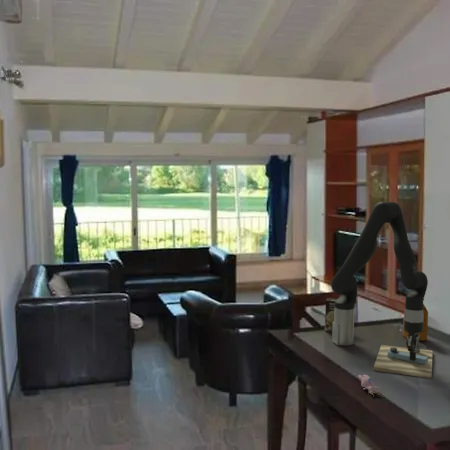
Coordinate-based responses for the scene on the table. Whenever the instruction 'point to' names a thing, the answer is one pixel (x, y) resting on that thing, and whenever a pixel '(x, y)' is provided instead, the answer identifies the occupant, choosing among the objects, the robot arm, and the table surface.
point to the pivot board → (403, 362)
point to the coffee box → (329, 313)
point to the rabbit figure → (368, 384)
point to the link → (407, 357)
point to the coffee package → (425, 329)
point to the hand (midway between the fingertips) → (412, 360)
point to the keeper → (420, 347)
